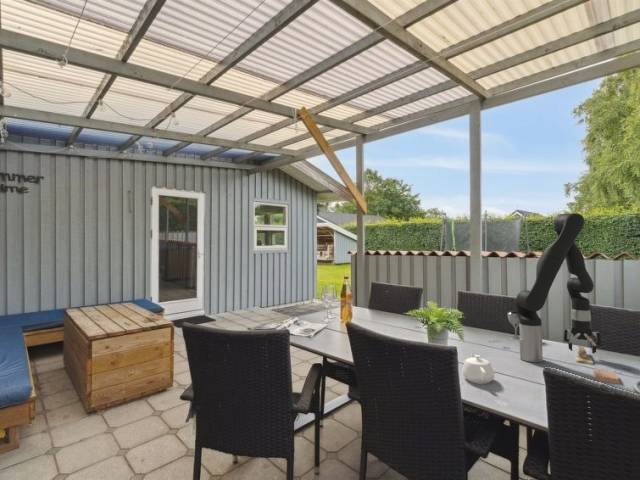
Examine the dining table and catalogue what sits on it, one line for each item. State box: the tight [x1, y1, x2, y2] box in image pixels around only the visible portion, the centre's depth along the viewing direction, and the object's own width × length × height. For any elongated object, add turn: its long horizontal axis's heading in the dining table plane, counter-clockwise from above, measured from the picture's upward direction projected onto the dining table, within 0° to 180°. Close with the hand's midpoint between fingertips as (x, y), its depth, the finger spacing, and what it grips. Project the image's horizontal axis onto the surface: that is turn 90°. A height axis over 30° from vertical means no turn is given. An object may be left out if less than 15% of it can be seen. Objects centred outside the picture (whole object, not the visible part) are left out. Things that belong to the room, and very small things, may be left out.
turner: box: [574, 345, 594, 365], centre depth 162 cm, size 6×16×4 cm, turn 147°
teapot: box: [461, 353, 495, 385], centre depth 141 cm, size 20×12×10 cm, turn 170°
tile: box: [592, 368, 620, 385], centre depth 138 cm, size 7×2×8 cm
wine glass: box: [507, 310, 520, 340], centre depth 198 cm, size 8×8×15 cm
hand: (582, 351), depth 163 cm, fingers open, 8 cm apart
